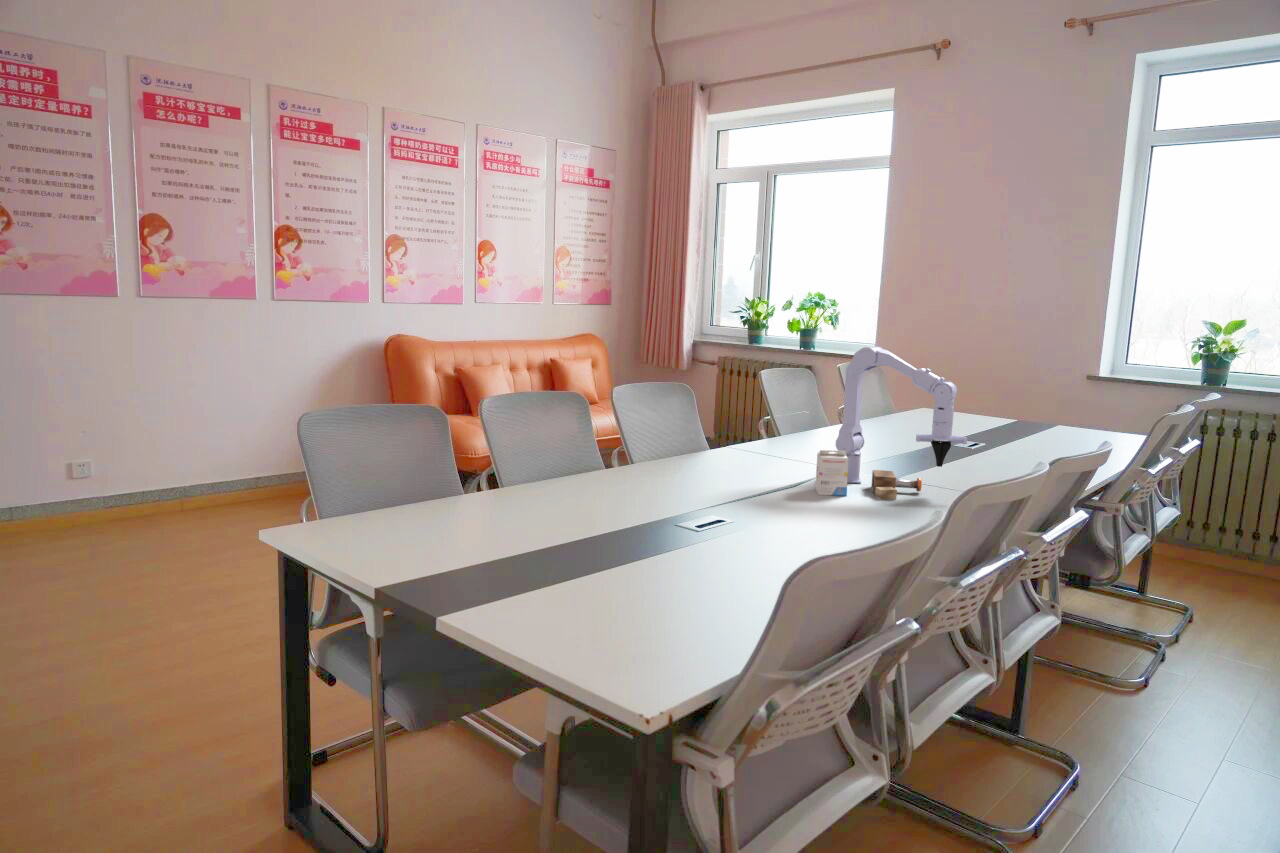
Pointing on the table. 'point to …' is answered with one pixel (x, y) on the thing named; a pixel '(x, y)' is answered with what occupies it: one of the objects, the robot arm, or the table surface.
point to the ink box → (832, 473)
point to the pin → (909, 484)
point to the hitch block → (883, 479)
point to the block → (885, 492)
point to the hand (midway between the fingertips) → (939, 466)
